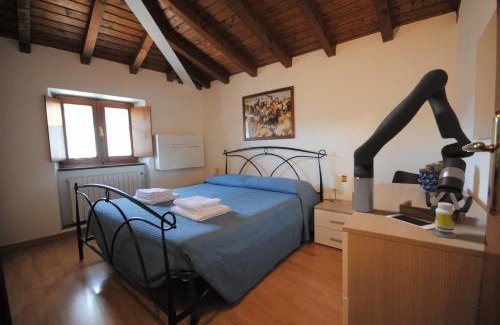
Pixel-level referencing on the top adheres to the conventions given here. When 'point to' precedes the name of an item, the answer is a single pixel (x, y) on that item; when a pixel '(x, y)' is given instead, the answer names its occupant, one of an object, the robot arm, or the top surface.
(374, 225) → the top surface
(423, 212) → the brown wooden tray
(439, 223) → the supplement bottle
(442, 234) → the slate coaster
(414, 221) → the cell phone
